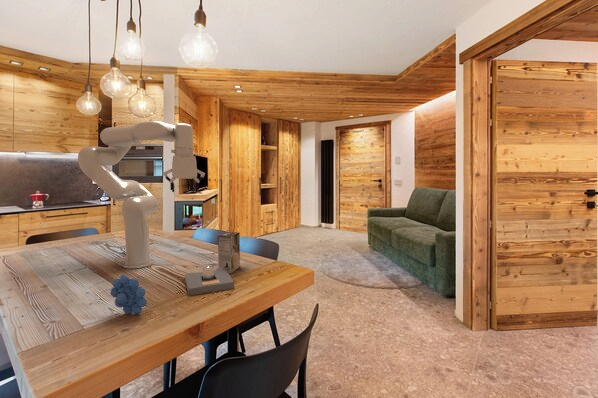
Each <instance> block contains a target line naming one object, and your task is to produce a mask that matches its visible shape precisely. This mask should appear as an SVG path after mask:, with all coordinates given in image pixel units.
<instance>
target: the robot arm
mask: <svg viewBox="0 0 598 398" xmlns="http://www.w3.org/2000/svg"><path fill="white" fill-rule="evenodd" d="M193 131H194V129H193V126H192V125H191V124H188V123H175V125H174V124H171V123H166V122H163V121H158V120H155V121H143V122H142V121H141V122H138V123H136V124H133V125H124V126H111V127H106V128H104V129H103V130H101V132H100V134H99V135H100V136H99V137H100V140H101V141H102V143H103V144H104V145H106V146H108V147H106V146H105V147H104V146H97V145H93V146H92V145H90V146H84V147H83V148H81V149H80V150H79V152H78V154H77V155H78V156H77V163H78V166H79V168H80V170H81V171H82V172H83V173H84V174H85V176H87V177H88V179H90V180H91V181H93V182H94V183H95V184H96V185H97V186H98V187H99V188H100V189H101V190H102V191H103V192H104V193H106V194H107V195H108V197H110V199H112V200H113V201H116V202H122V203H121V213H122V216H123V221H124V233H125V234H124V237H125V256H123V257H115V258H114V263H117V264H118V263H119V264H121V263H122V268H124V269H129V270H130V269H141V268H146V267H149V266H152V265H153V264H154V261H155V260H154V259H153V258H151V256H150V255H151V254H150V253H151V252H150V230H149V229H150V228H149V227H150V226H149V222H148V219H147V216H149V215H152V214H154V213H156V212H157V211H158V209H159V202H158V200H157V198H156V197H155V196H154V195H153V194H152V193H151V192H150V191H149V190H147V188H146V187H144V185H142V184H141V183H140V182H138V181H136V180H133V179H123V178H121V177H119V176H118V175H117V174H116V173H115V172H114V171H112V170H111V169H110V168H108V167H109V166H115V165H117V164H118V163H120V161H121V160H122V159H123V158H124V156H126V154H127V153H128V152H129V150H131V148H132V147H133V146H138V145H142V143H143V141H152V140H158V141H164V142H170V143H171V142H173V143H174V148H173V149H170V150H171V151H170V153H171V154H174V155H173V156H172V162H171V166H172V167H171V168H170V169H168V170H166V171H164V172H163V173H162V175H163V176H164V178H165V179H166V180H167V181H168V182H169V184H170V191H171V192H172V193H175V182H174V181H175V180H176V179H179V180H180V179H182V180H184V179H185V180H186V179H188V180H189V179H190V180H191V179H193V180H194V181H195V183H194V192H197V193H198V191H199V190H200V182H201V181H202V180H204V177H205V175H206V173H205V172H204V171H201V170H199V169H198V167H197V158H196V156H194V133H193ZM107 166H108V167H107ZM170 173H171V175H172V177H171V178H170V176H168V174H170ZM198 174H200V177H199V178H198Z"/></svg>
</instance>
